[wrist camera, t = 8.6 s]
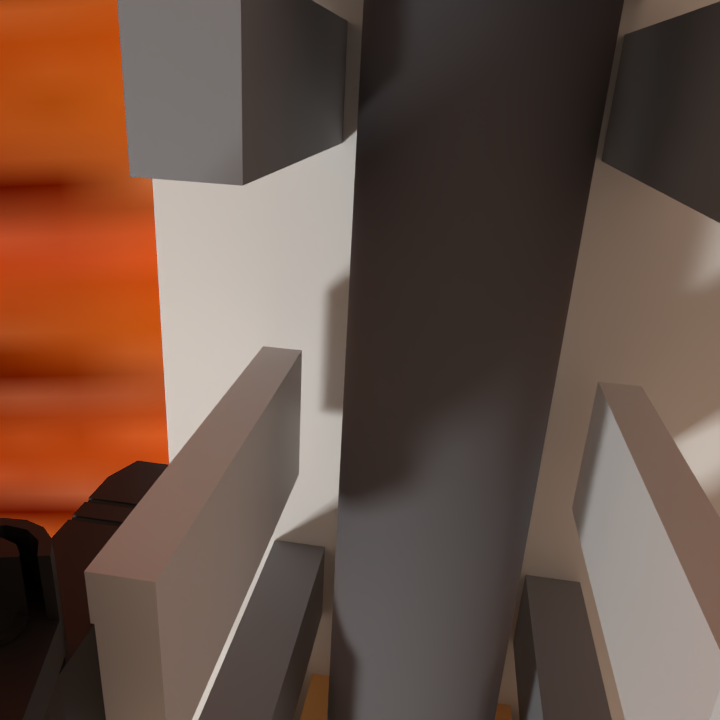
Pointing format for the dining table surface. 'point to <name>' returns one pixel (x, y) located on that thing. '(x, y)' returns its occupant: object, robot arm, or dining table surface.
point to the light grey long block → (331, 292)
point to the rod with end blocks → (454, 336)
